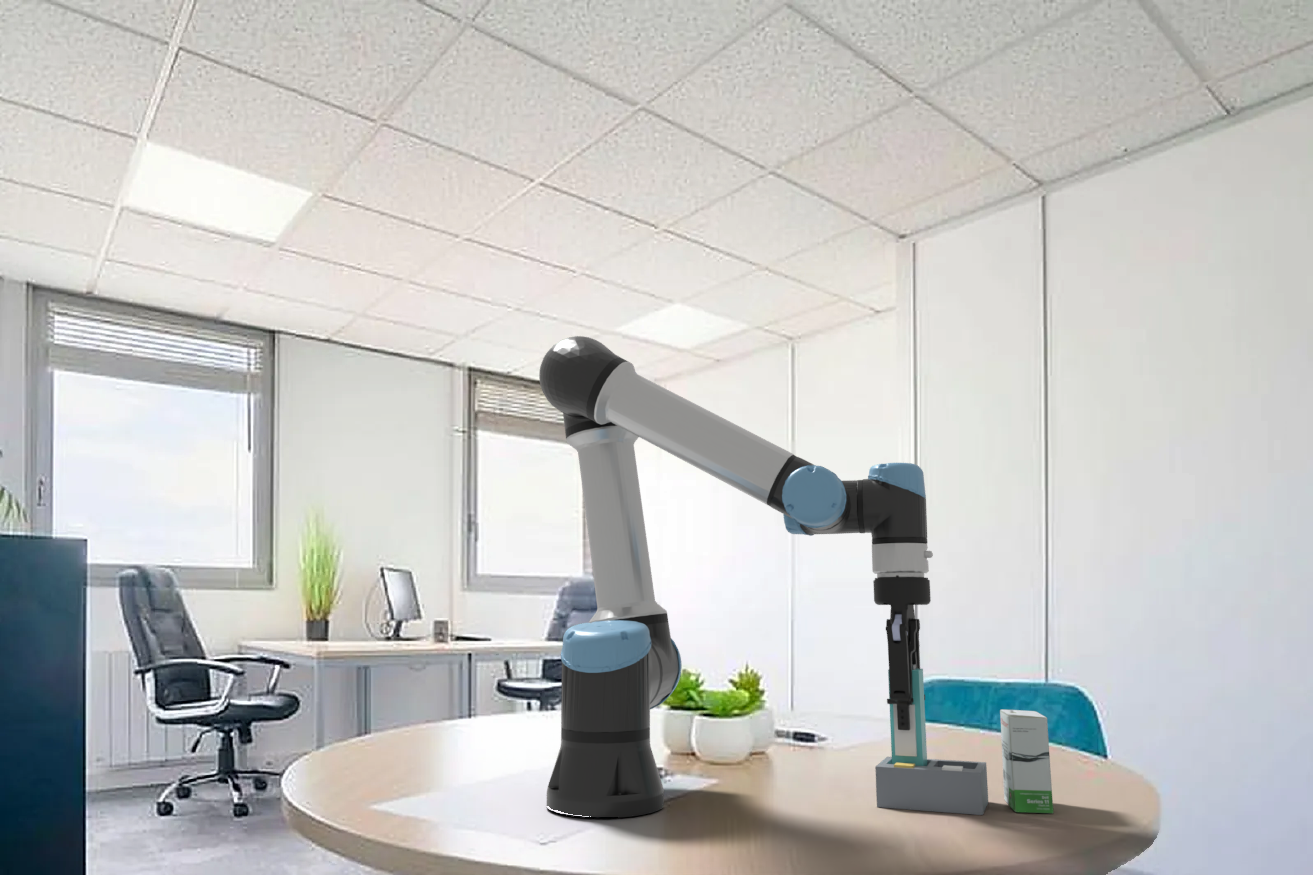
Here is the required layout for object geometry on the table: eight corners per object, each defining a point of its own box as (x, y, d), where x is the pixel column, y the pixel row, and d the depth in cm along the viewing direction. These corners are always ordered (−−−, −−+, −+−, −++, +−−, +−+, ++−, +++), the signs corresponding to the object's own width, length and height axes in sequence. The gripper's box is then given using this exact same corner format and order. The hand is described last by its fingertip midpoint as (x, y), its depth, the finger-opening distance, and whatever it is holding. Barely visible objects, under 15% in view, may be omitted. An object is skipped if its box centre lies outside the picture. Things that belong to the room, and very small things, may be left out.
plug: (892, 770, 130) (887, 665, 132) (897, 766, 133) (892, 663, 136) (923, 772, 128) (918, 665, 130) (927, 768, 132) (922, 664, 134)
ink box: (1055, 815, 122) (1048, 715, 124) (1013, 813, 123) (1007, 715, 125) (1042, 801, 130) (1036, 708, 132) (1003, 799, 131) (998, 708, 133)
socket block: (876, 807, 126) (875, 764, 127) (888, 794, 135) (887, 754, 136) (982, 815, 122) (980, 770, 122) (988, 801, 130) (986, 759, 131)
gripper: (920, 574, 126) (929, 764, 122) (937, 577, 141) (945, 745, 137) (861, 574, 129) (868, 760, 125) (884, 577, 144) (891, 743, 140)
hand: (908, 752), depth 131 cm, fingers closed on plug, 4 cm apart
